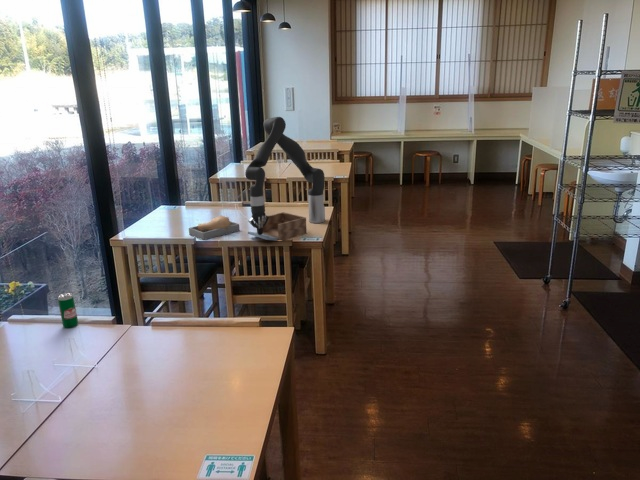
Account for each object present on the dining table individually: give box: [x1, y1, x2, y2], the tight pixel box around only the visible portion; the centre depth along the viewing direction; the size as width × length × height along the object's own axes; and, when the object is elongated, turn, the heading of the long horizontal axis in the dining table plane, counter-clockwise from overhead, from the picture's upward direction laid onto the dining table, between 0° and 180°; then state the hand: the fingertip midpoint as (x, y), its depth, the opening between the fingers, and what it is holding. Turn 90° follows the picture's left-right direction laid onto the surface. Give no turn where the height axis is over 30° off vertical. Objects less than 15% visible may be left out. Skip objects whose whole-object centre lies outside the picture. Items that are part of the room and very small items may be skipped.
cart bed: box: [262, 211, 308, 241], centre depth 285 cm, size 20×20×10 cm
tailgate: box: [247, 231, 278, 241], centre depth 276 cm, size 1×17×8 cm
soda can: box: [57, 292, 79, 329], centre depth 180 cm, size 5×5×12 cm
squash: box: [197, 215, 231, 232], centre depth 292 cm, size 11×20×9 cm, turn 86°
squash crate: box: [188, 220, 241, 241], centre depth 292 cm, size 25×16×4 cm, turn 134°
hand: (260, 234), depth 275 cm, fingers closed
